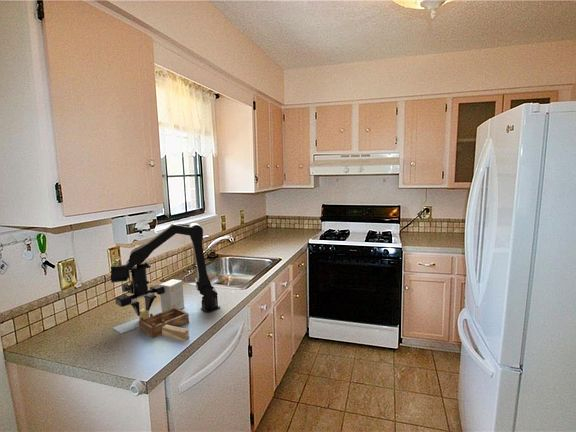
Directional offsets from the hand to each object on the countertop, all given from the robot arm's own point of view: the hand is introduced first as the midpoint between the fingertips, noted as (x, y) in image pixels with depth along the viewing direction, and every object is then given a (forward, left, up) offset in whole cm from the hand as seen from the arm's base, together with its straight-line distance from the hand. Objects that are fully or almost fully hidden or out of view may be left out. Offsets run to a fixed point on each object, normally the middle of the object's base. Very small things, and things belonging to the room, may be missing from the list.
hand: (142, 314), depth 139 cm
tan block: (-1, +23, -3) cm, 23 cm away
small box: (-14, 0, -3) cm, 14 cm away
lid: (+4, 0, -3) cm, 5 cm away
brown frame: (-3, +12, -3) cm, 13 cm away
